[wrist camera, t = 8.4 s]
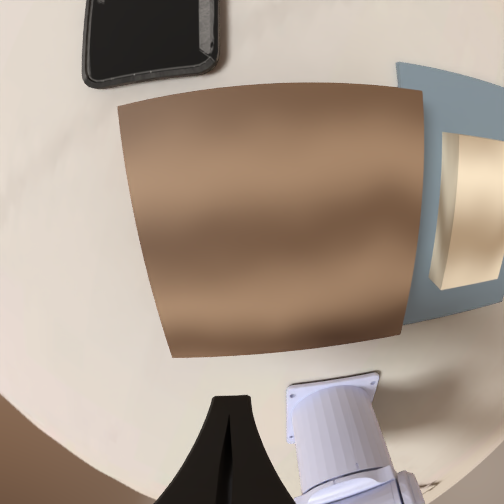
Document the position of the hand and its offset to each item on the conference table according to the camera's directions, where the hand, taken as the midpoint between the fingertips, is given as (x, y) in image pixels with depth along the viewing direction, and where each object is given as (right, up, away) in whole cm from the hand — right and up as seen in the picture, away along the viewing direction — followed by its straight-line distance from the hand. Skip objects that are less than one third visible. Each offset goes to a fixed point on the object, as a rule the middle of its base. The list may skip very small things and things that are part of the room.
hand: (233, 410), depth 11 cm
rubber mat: (+16, +9, +7) cm, 20 cm away
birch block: (+16, +8, +5) cm, 18 cm away
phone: (-5, +22, +1) cm, 23 cm away
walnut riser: (+2, +8, +7) cm, 11 cm away
